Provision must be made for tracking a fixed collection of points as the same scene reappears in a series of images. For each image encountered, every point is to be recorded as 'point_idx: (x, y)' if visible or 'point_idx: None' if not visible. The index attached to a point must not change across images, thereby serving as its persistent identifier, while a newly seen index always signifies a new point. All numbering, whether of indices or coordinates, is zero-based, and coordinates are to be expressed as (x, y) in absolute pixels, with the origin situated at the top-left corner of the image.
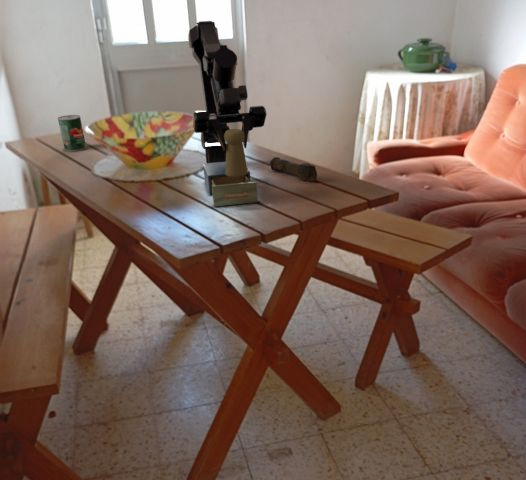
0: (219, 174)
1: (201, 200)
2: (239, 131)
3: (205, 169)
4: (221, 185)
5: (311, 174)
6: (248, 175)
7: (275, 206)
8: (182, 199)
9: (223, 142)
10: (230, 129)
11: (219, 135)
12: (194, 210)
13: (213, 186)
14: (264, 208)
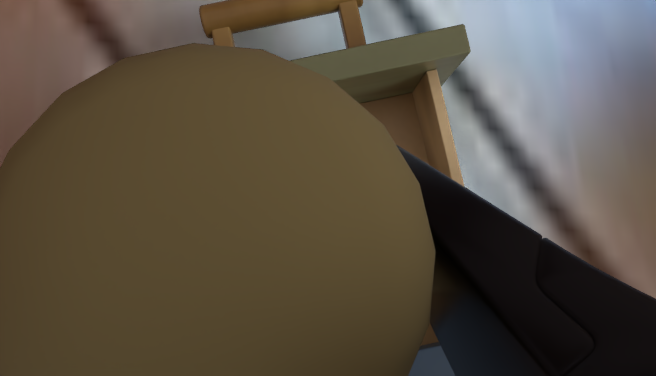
0: (440, 349)
1: (526, 210)
2: (33, 164)
3: None
4: (395, 47)
5: None
6: None
7: (63, 57)
8: (652, 242)
9: (428, 179)
10: (280, 340)
11: (542, 244)
12: (543, 31)
13: (455, 27)
14: (129, 29)
